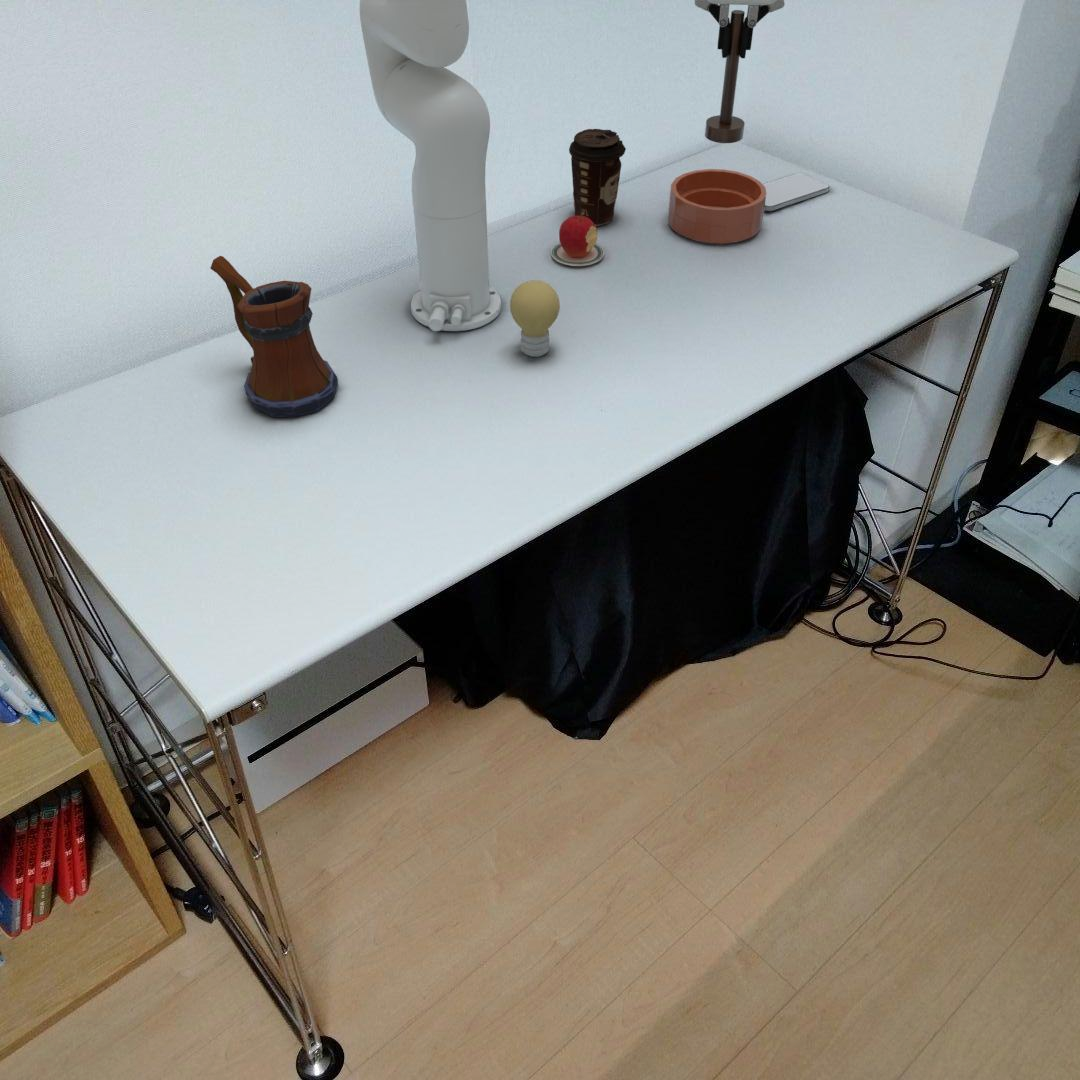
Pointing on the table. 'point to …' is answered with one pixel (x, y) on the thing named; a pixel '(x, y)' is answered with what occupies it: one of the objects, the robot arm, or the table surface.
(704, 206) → the bowl
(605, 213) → the coffee cup
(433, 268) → the robot arm
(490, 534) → the table surface
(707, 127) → the dowel on round base
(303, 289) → the mug
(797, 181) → the smartphone
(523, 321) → the light bulb
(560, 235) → the red apple in dish
